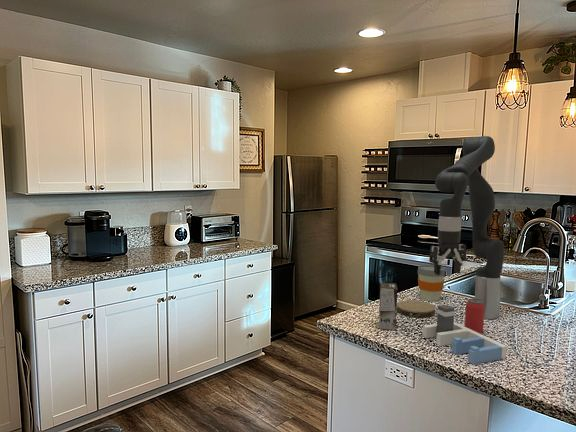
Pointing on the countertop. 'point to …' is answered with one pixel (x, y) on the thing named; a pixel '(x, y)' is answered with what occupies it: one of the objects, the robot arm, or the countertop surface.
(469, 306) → the beer can
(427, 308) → the ringed wooden coaster
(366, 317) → the countertop surface
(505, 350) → the duct comb
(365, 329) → the countertop surface
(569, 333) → the countertop surface
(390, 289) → the coffee box
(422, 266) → the reusable coffee cup
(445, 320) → the grey trapezoid block
